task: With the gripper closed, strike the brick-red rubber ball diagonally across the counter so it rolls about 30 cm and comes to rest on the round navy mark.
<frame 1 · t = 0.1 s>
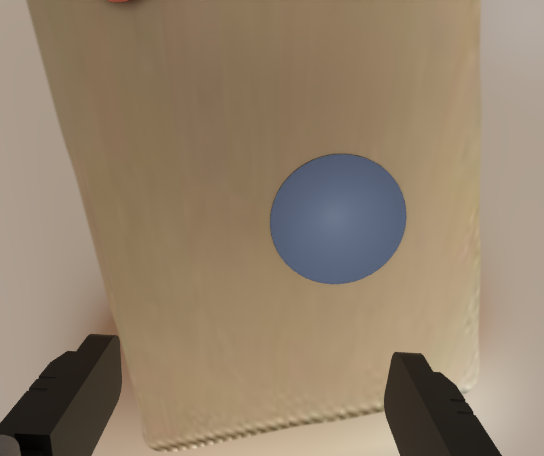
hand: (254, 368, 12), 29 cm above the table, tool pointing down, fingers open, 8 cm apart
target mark: (337, 222, 41), on the table
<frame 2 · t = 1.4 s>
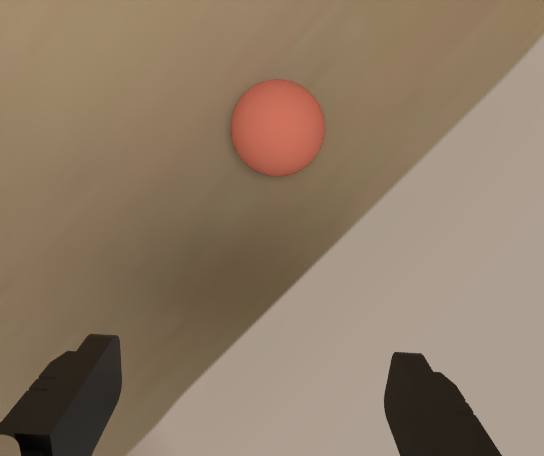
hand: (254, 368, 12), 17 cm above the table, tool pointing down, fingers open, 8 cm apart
ball: (277, 129, 24), on the table
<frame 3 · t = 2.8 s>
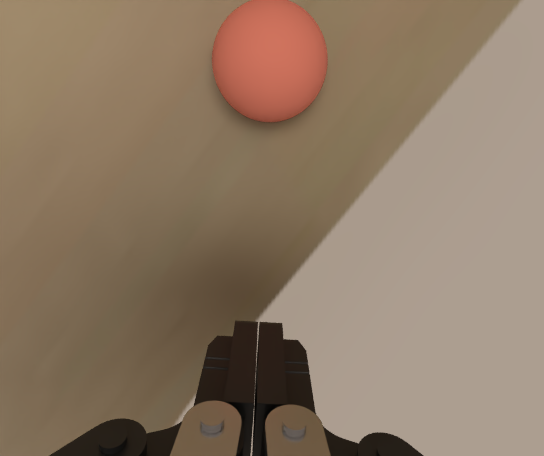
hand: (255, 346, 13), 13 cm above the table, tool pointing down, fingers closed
ball: (269, 63, 19), on the table
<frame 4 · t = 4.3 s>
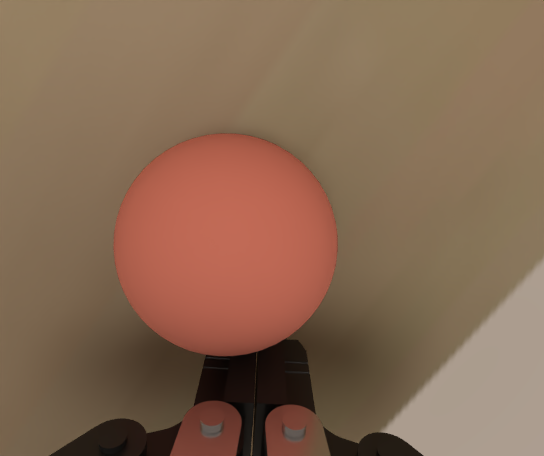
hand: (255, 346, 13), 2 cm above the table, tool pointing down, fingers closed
ball: (229, 243, 10), on the table
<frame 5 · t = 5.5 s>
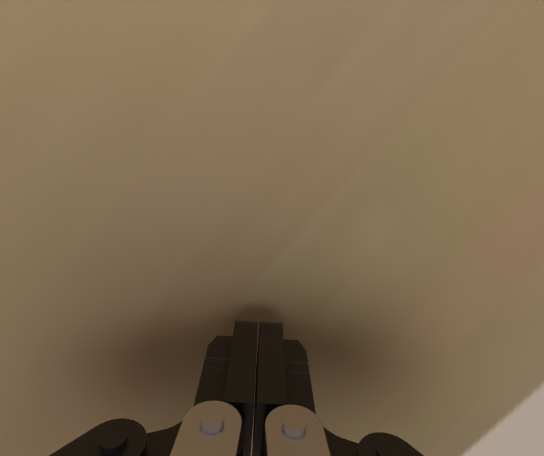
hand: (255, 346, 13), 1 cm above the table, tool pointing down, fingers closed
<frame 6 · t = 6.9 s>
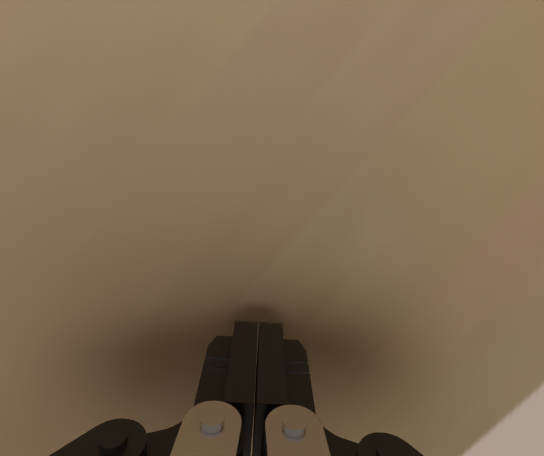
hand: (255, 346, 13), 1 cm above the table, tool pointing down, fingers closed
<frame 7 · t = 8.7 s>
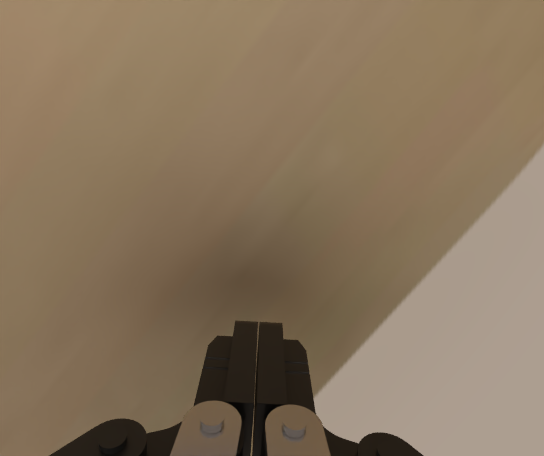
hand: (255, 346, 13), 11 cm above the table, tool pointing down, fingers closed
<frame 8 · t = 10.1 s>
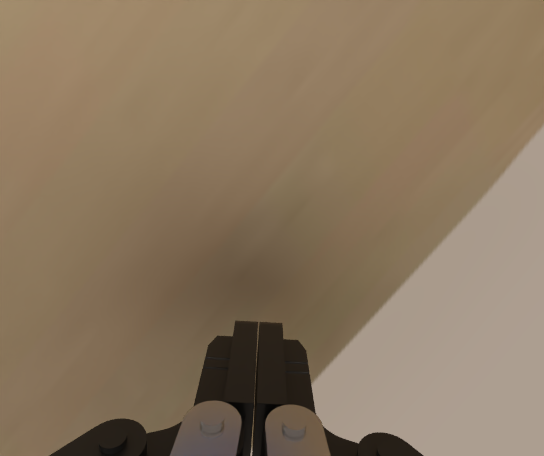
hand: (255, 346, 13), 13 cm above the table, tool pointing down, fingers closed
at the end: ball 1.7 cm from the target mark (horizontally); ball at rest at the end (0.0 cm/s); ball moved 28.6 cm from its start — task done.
